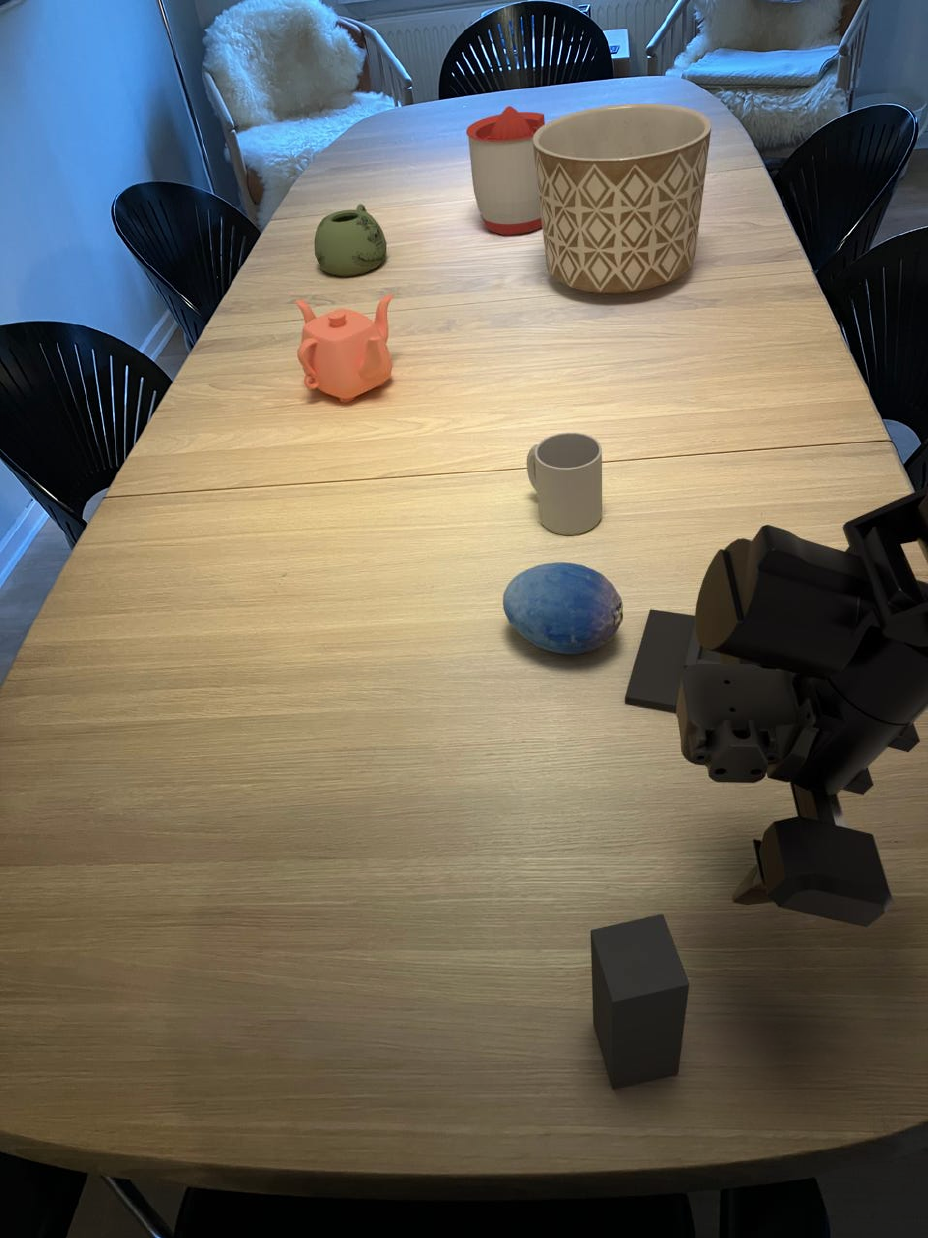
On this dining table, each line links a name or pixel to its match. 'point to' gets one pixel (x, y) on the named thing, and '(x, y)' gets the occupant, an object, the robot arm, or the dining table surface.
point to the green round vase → (349, 242)
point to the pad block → (638, 1000)
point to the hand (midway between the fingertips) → (727, 836)
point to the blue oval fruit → (563, 607)
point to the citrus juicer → (506, 171)
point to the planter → (621, 194)
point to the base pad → (665, 660)
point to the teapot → (345, 350)
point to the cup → (567, 482)
